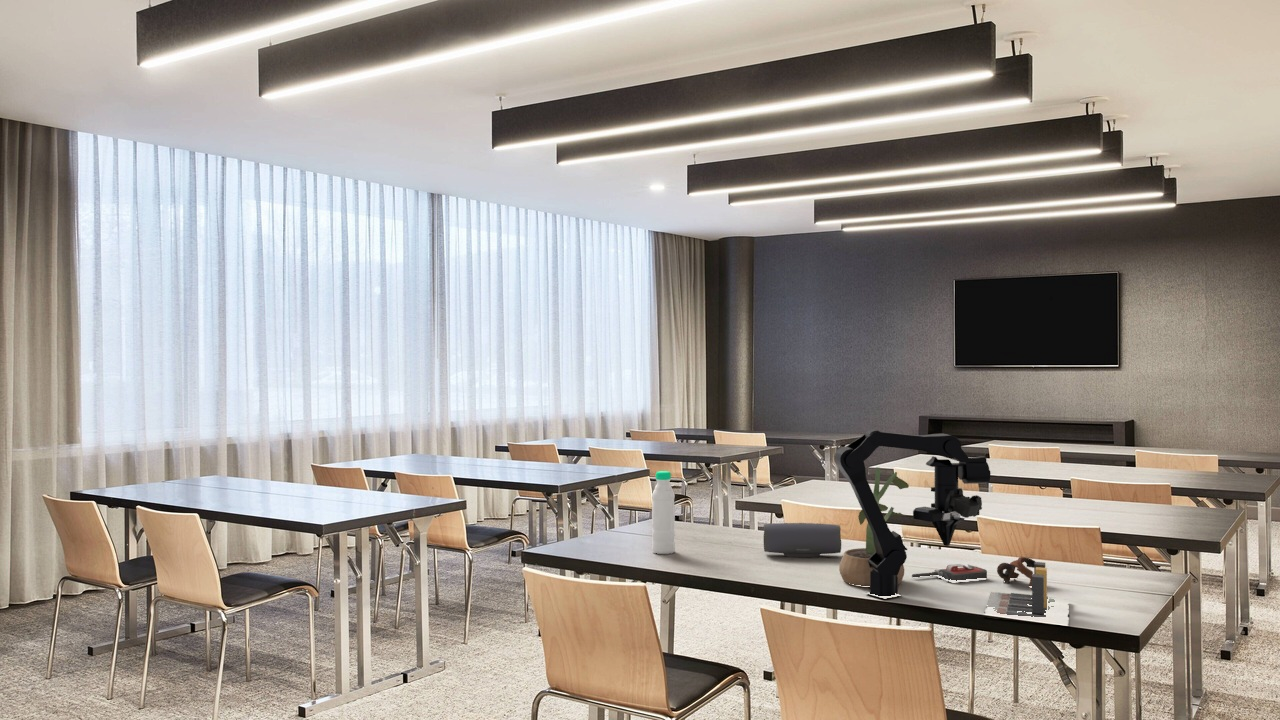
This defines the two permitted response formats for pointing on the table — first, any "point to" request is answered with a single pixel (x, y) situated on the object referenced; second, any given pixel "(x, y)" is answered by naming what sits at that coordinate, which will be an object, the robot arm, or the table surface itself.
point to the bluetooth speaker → (802, 539)
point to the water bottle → (663, 515)
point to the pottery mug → (1020, 567)
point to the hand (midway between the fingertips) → (946, 545)
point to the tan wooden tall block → (1044, 572)
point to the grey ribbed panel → (1022, 599)
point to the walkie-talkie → (958, 572)
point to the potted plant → (868, 540)
